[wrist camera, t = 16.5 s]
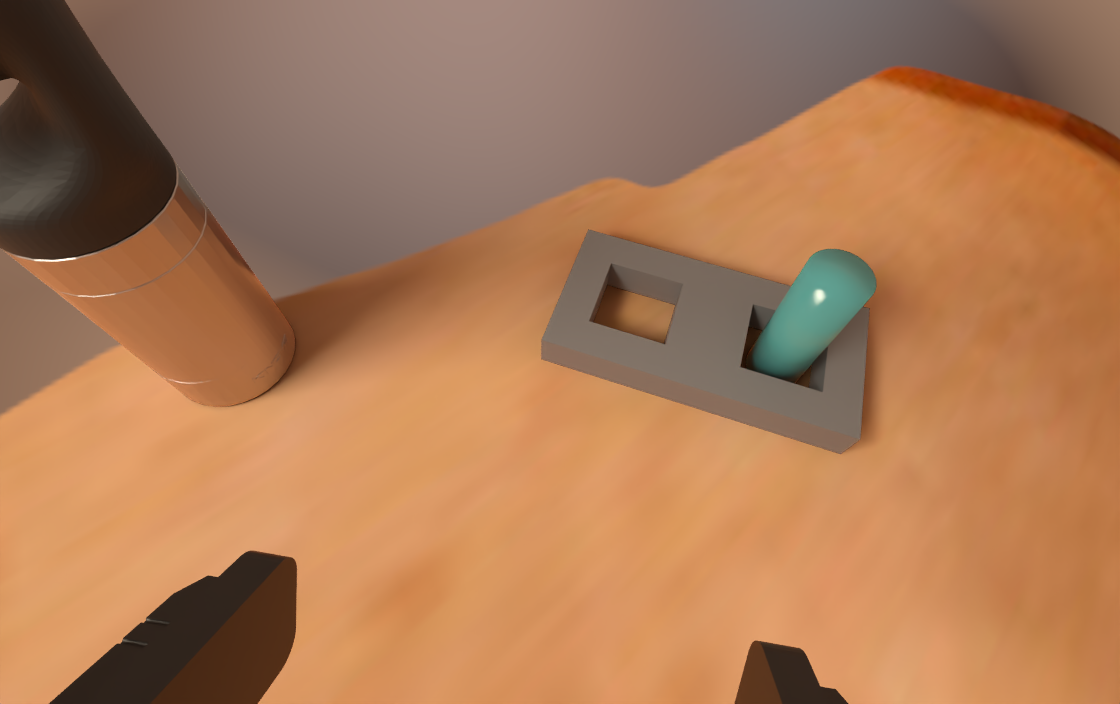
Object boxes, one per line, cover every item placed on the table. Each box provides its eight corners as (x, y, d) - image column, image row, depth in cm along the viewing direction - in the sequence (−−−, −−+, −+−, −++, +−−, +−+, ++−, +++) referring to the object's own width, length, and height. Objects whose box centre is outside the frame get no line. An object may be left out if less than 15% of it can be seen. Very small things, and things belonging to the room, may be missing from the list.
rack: (541, 359, 45) (541, 339, 43) (585, 252, 51) (588, 229, 49) (840, 453, 42) (860, 439, 40) (851, 328, 48) (869, 308, 45)
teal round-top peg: (741, 380, 45) (802, 292, 35) (750, 337, 47) (809, 241, 37) (796, 397, 44) (874, 312, 34) (802, 352, 47) (878, 259, 36)
